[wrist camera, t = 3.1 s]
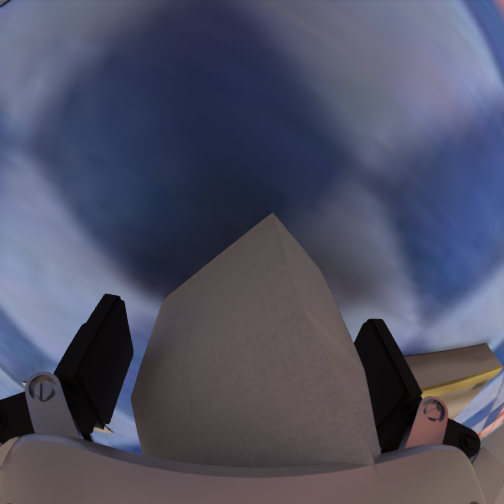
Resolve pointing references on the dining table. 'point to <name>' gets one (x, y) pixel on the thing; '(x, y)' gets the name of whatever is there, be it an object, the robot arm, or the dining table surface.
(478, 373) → the dock
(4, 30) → the dining table surface
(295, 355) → the small white carton
